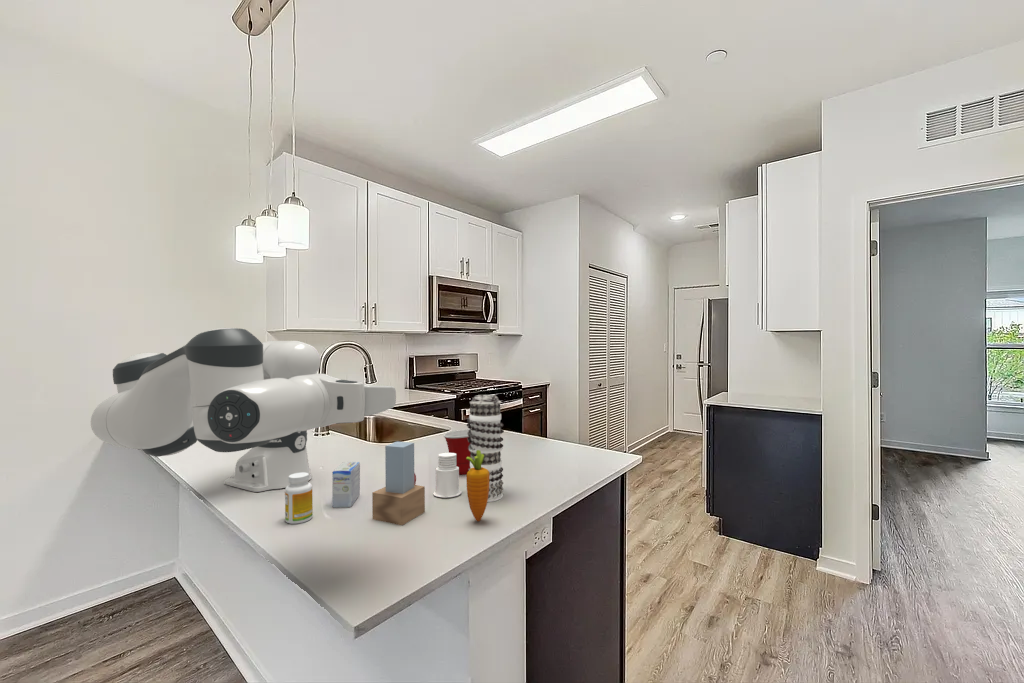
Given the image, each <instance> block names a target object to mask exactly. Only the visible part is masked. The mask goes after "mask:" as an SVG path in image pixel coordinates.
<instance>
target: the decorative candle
mask: <svg viewBox="0 0 1024 683" xmlns="http://www.w3.org/2000/svg"><path fill="white" fill-rule="evenodd" d="M501 404H502V401H501V400H500V399H499V397H498V396H497V395H495V394H478V395H474V396H473V398H472V399H471V401H469V417H468V418H467V419H466V420H467V423H466V427H467V429H470V430H469V431H468V433H467V434H468V436H469V438H468V439H467V440H468V442H469V443H471V444H469V446H468V448H469V451H470V452H471V453H470V456H471V458H472V459H473V461H474V460H475V458H474V457H475V456H477V453H476V451H477V450H480V451H481V454H483V455H484V459H483V462H482V464H481V467H483V468H485V469H487V470H488V471H489V494H488V501H487V503H492V502H495V501H496V502H497V501H499V500H501V499H502V498H503V497H504V494H503V491H504V488H503V485H504V481H503V480H502V479H503V477H504V474H503V471H504V468H503V466H502V463H503V462H502V461H503V460H502V458H501V456H502V454H501V451H503V447H504V444H502V443H501V442H503V441H504V438H503V437H502V436H501V435H502V434H503V433H504V429H502V428H503V427H504V423H503V422H501V420H502V412H501ZM471 468H474V466H473V464H472V463H471V462H470V468H469V469H468V471H469V470H470V469H471Z"/></svg>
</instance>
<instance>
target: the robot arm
mask: <svg viewBox="0 0 1024 683" xmlns="http://www.w3.org/2000/svg"><path fill="white" fill-rule="evenodd" d="M320 367H321V355H320V353H319V351H318V350H317V348H315V346H313V345H312V344H309V343H306V342H303V341H299V340H267V341H263V342H261V340H259V338H257V337H256V336H255V335H254V334H252V332H250V331H248V330H247V329H245V328H244V329H243V328H238V327H218V328H213V329H209V330H207V331H204V332H200V333H198V334H196V335H194V336H193V337H192V338H191V339H190V340H189V341H188V342H187V343H186V344H184V345H183V346H181V347H179V348H177V349H176V350H173V351H172V352H170V353H168V354H166V353H164V352H161V353H159V352H142V353H141V352H140V353H137V354H133V355H131V356H129V357H127V358H125V359H123V360H122V361H121V362H119V363H117V364H116V365H115V366H114V368H113V369H112V379H113V385H116V391H117V393H116V394H114V395H112V396H109V397H108V398H107V399H105V400H103V401H102V402H101V403H100V404H98V405H97V407H95V409H94V410H93V412H92V414H91V417H90V426H91V427H90V428H91V430H92V432H93V433H94V435H95V437H97V438H98V439H99V440H101V441H102V442H104V443H106V444H109V445H111V446H113V447H117V448H121V449H128V450H129V449H131V450H140V451H141V450H142V451H143V452H144V453H145V454H146V455H149V456H151V457H155V458H159V457H167V456H172V455H173V456H174V455H176V454H180V453H181V452H183V451H185V450H187V449H188V448H190V447H191V446H193V445H195V444H196V443H197V441H198V442H199V443H200V444H202V445H203V446H205V447H206V448H208V449H211V450H212V451H214V452H216V453H236V452H241V451H245V450H248V451H247V452H246V453H244V454H243V455H242V456H240V457H239V458H238V460H237V461H236V463H235V467H234V475H232V476H230V477H228V478H226V479H225V480H224V485H227V486H231V487H235V488H238V489H242V490H246V491H250V492H253V493H257V492H264V491H270V490H279V489H286V487H287V486H288V485H290V483H289V475H291V474H295V473H302V472H304V473H308V474H309V481H310V480H312V479H313V475H312V472H311V468H310V463H309V458H308V457H309V456H308V449H307V441H308V431H309V430H315V429H318V428H324V427H328V426H331V425H335V424H336V425H338V424H340V425H341V424H353V423H360V422H362V421H364V420H365V417H369V416H374V415H377V414H380V413H383V412H385V411H388V410H391V409H393V408H394V407H395V406H396V403H397V392H396V387H395V386H393V385H380V384H379V385H378V384H377V385H375V384H374V385H373V384H372V385H371V384H365V383H364V382H362V381H356V380H347V379H341V378H338V377H335V376H331V375H329V374H327V373H317V372H318V371H319V370H320Z"/></svg>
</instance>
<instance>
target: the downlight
mask: <svg viewBox="0 0 1024 683" xmlns="http://www.w3.org/2000/svg"><path fill="white" fill-rule="evenodd" d="M437 461H438V462H437V467H436V468H435V490H434V492H433V493H432V494H433V496H435V497H438V498H443V499H448V498H453V497H458V496H460V495H462V490H460V477H459V476H460V475H459V467H457V466H456V453H449V452H442V453H438V457H437Z"/></svg>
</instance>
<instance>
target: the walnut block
mask: <svg viewBox="0 0 1024 683" xmlns="http://www.w3.org/2000/svg"><path fill="white" fill-rule="evenodd" d="M425 488H426V487H425V485H418V484H415V485H414V488H412V489H411V490H409V491H407V492H406V493H404V494H402V493H393V492H386V486H384V487H382V488H380V489H377V490H375V491H373V492H372V494H371V495H372V497H371V498H372V500H371V501H372V503H371V504H372V508H371V509H372V518H371V519H372V520H375V521H379V522H384V523H386V524H387V523H388V524H392V525H398V526H400V527H401V526H404V525H406V524H407V523H409V522H411V521H412V520H414V519H415V518H417V517H419V516H421V515H423V514H424V513H425V512H426V510H425V509H426V508H425V507H426V500H425V499H426V497H425V496H426V495H425V494H426V491H425V490H426V489H425Z"/></svg>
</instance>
